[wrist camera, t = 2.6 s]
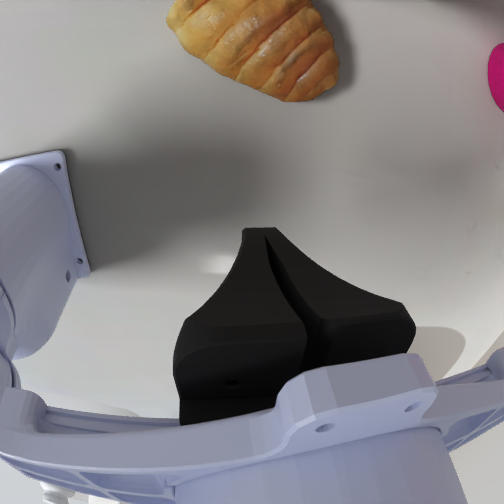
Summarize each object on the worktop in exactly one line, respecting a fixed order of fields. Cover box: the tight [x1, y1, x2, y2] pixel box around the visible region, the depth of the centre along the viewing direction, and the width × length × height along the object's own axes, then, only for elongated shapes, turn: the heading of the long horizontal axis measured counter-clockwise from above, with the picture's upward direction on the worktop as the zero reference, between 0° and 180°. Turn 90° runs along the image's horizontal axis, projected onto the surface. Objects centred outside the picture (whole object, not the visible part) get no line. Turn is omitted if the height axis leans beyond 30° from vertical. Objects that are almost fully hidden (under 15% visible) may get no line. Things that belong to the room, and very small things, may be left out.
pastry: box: [166, 0, 339, 102], centre depth 13 cm, size 9×7×4 cm
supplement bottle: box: [40, 481, 75, 504], centre depth 35 cm, size 7×7×13 cm
